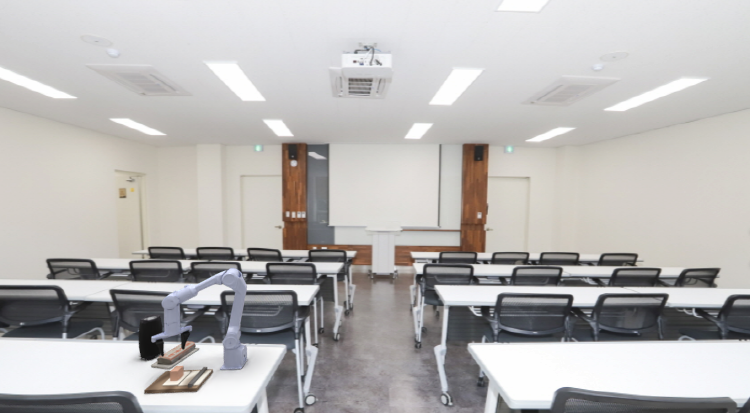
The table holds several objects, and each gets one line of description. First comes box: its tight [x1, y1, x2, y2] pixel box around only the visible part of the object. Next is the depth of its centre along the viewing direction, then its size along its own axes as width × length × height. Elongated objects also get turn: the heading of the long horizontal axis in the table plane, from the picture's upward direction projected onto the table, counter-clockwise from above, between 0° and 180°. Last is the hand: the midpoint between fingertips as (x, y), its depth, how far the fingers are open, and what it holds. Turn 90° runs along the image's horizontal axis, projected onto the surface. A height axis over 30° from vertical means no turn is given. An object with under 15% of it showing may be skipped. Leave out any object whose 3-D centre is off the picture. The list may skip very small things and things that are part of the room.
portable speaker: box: [137, 313, 164, 362], centre depth 141 cm, size 9×9×20 cm
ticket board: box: [143, 366, 214, 395], centre depth 121 cm, size 20×13×3 cm, turn 93°
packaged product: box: [150, 340, 200, 370], centre depth 140 cm, size 18×5×10 cm
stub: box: [162, 365, 191, 386], centre depth 121 cm, size 6×9×4 cm, turn 3°
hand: (172, 352), depth 127 cm, fingers open, 7 cm apart
